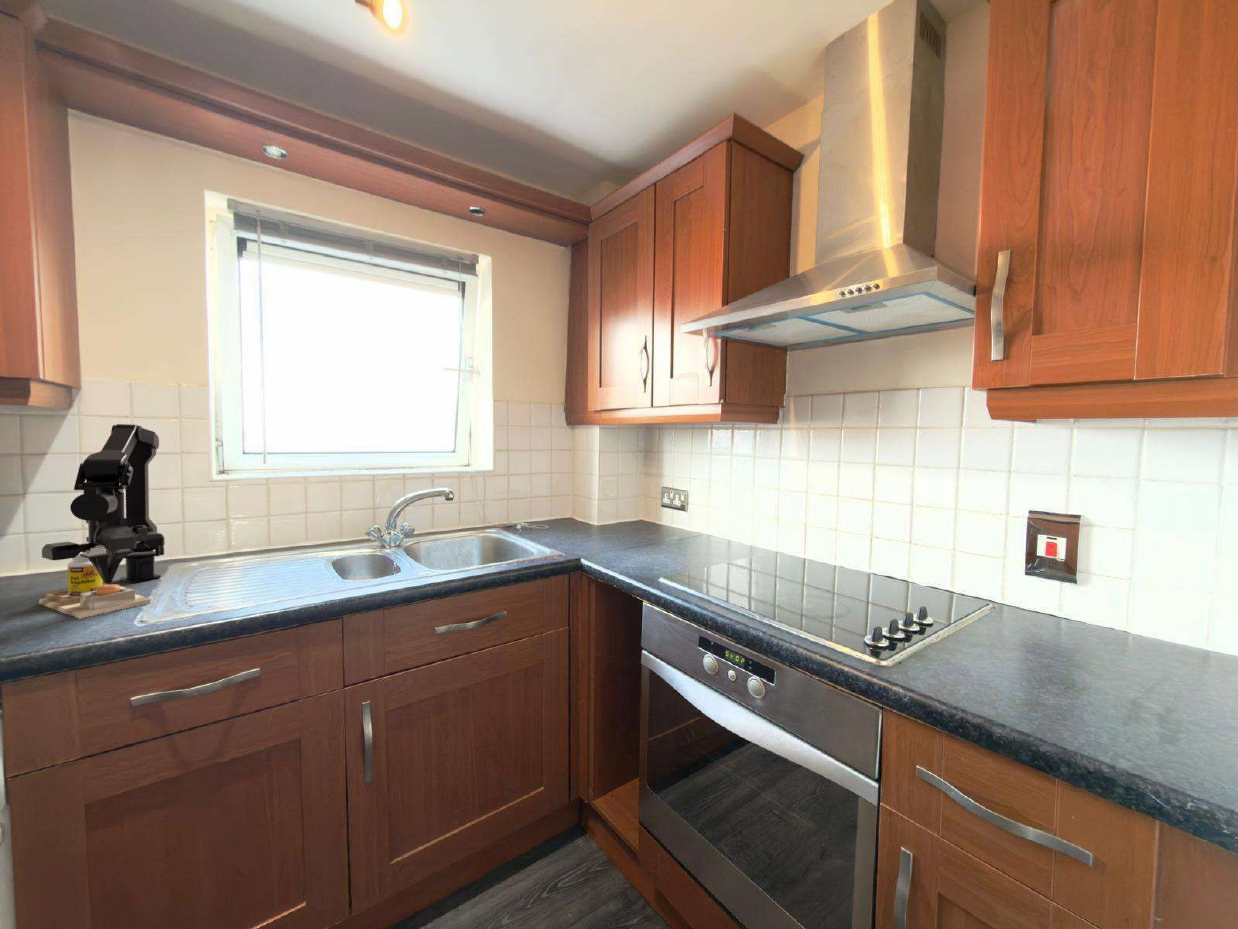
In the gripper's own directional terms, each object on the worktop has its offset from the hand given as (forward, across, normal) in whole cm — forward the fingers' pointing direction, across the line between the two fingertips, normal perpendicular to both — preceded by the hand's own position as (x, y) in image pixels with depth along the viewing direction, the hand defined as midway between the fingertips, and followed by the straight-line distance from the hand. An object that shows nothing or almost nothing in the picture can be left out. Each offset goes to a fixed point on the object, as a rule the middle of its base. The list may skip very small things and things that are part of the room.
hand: (107, 583), depth 114 cm
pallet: (+6, 0, +6) cm, 8 cm away
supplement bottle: (+5, 0, +11) cm, 12 cm away
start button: (+3, 0, 0) cm, 3 cm away
